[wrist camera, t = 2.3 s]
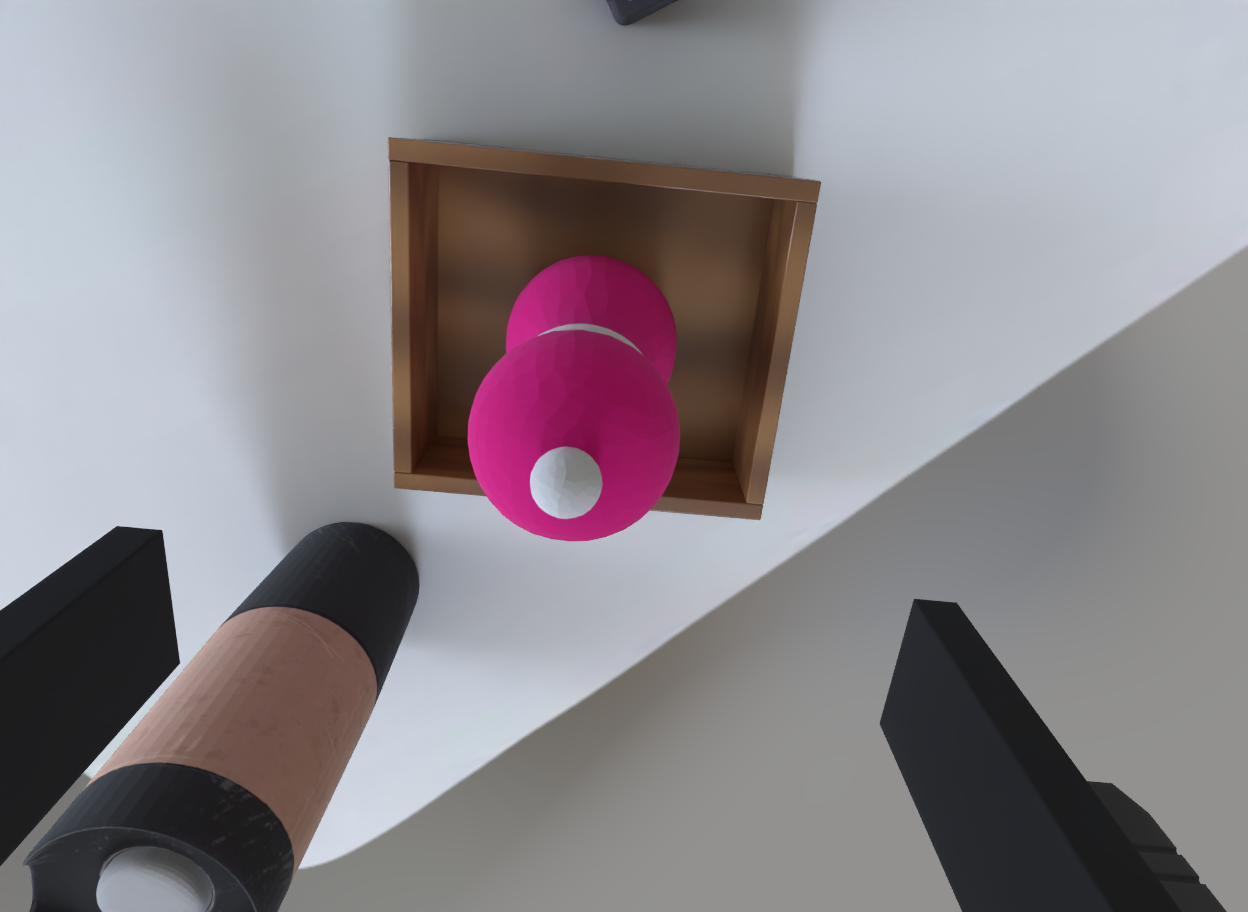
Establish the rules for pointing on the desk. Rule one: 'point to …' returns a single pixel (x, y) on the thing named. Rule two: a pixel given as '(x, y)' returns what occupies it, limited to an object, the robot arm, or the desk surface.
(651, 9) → the black red grey box
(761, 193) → the wooden box
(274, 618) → the travel mug
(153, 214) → the desk surface
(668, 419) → the pepper mill
